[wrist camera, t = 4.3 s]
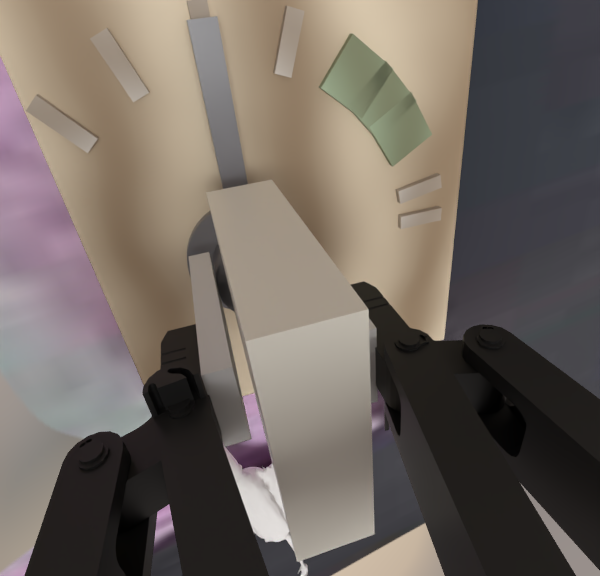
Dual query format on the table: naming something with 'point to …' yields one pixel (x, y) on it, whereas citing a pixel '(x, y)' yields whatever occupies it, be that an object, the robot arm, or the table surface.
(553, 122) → the table surface
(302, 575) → the winged dragon toy
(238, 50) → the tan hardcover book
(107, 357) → the table surface
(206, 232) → the white upright block
